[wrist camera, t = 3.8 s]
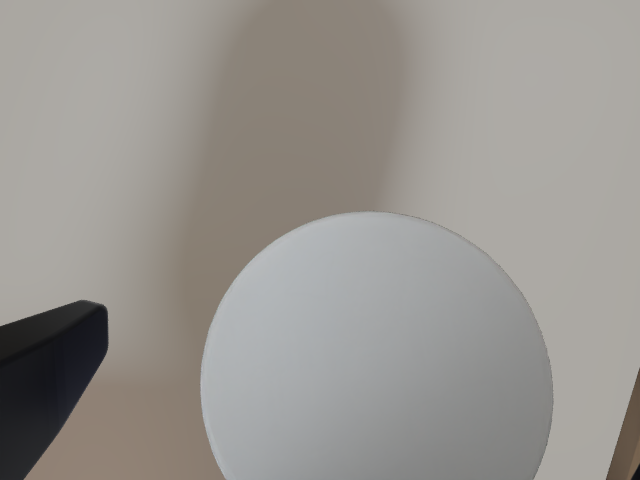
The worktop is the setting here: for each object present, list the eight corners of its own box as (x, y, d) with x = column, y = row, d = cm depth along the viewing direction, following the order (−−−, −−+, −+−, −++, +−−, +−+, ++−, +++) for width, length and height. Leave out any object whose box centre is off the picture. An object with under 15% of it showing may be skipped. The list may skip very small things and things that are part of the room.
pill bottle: (384, 569, 15) (450, 755, 6) (219, 440, 17) (61, 429, 7) (489, 389, 17) (673, 313, 7) (330, 284, 18) (318, 108, 9)
